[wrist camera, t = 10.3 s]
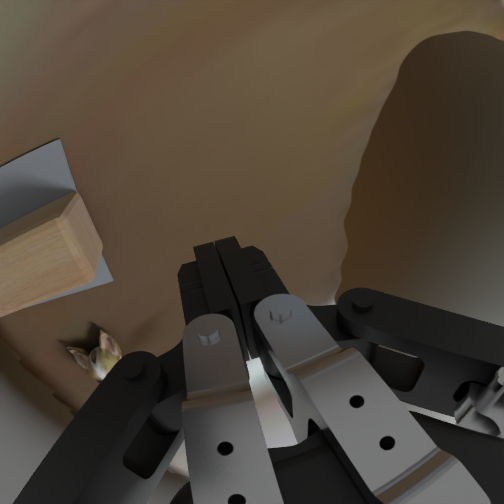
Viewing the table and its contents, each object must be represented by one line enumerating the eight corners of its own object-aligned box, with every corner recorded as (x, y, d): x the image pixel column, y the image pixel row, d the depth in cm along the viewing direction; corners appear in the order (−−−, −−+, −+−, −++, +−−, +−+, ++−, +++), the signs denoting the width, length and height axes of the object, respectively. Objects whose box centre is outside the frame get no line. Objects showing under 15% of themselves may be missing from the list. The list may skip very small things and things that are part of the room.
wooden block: (106, 246, 43) (13, 284, 40) (79, 187, 37) (-14, 236, 35) (96, 283, 34) (-5, 322, 32) (60, 213, 29) (-41, 268, 26)
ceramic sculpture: (112, 413, 50) (58, 370, 42) (113, 382, 57) (67, 339, 50) (153, 397, 50) (99, 349, 43) (151, 365, 58) (104, 317, 50)
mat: (-43, 192, 30) (-44, 193, 29) (60, 138, 33) (59, 139, 33) (15, 309, 43) (15, 310, 42) (113, 279, 46) (113, 281, 46)
